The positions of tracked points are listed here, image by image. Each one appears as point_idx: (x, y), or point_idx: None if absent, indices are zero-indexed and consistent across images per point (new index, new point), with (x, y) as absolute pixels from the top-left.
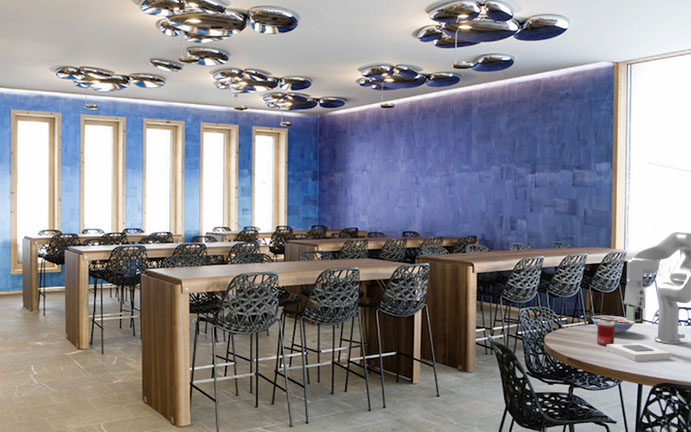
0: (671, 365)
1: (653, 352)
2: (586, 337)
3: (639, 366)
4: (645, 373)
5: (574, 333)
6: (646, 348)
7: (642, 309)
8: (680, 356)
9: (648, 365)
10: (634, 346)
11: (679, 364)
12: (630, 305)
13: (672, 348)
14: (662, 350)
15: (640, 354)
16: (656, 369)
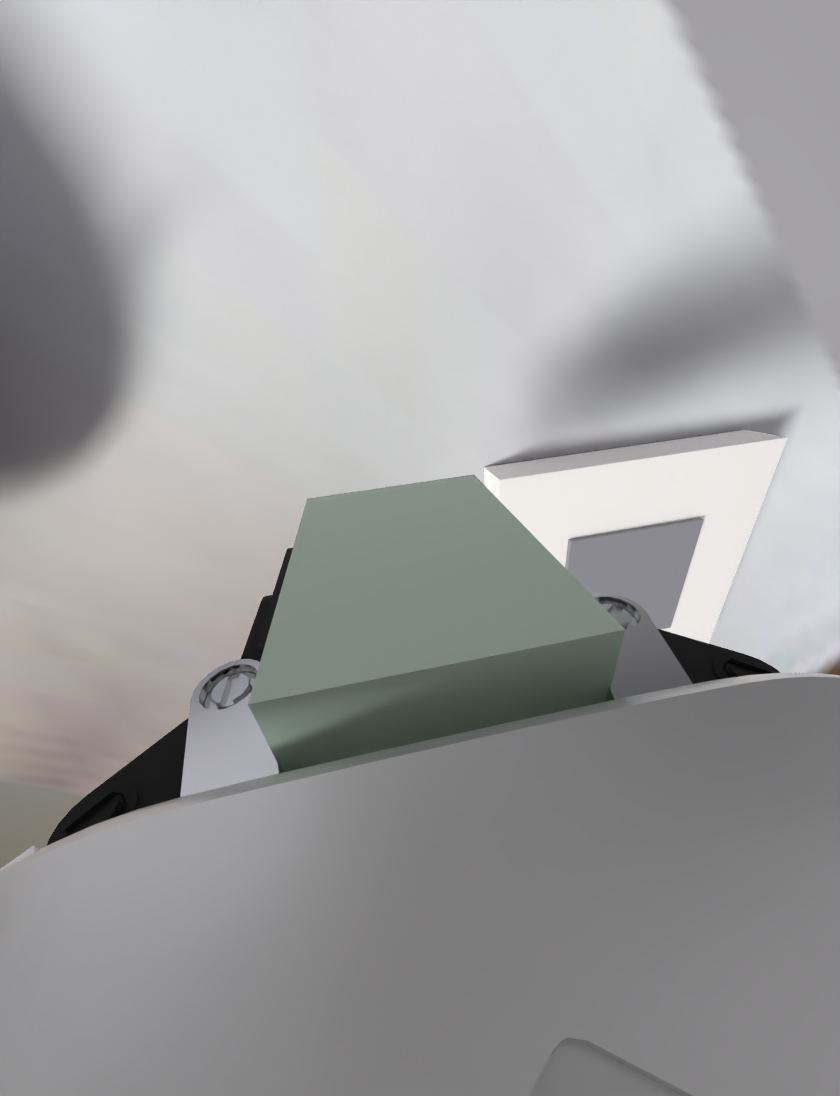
0: (812, 510)
1: (725, 545)
2: (146, 662)
3: (738, 651)
4: (799, 669)
5: (10, 692)
6: (661, 547)
7: (741, 663)
8: (746, 280)
9: (750, 612)
10: (597, 592)
11: (831, 452)
12: (204, 790)
13: (529, 76)
14: (724, 451)
15: (712, 630)
16: (800, 611)
